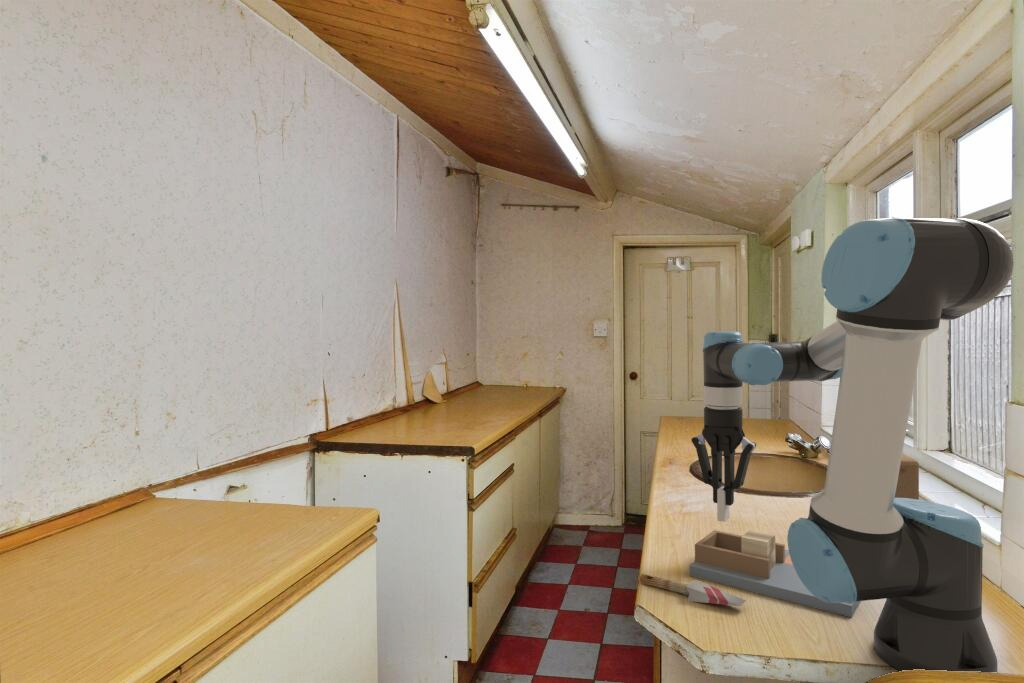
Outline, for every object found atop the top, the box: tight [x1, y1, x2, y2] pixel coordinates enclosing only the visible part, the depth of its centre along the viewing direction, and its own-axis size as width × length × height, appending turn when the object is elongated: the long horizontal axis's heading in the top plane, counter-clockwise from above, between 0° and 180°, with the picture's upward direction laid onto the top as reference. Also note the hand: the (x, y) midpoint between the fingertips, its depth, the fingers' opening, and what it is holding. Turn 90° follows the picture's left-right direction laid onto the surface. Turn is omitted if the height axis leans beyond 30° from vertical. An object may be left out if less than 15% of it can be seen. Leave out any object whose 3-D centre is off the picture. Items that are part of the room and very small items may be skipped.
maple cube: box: [741, 529, 776, 570], centre depth 121 cm, size 5×5×6 cm
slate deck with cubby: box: [689, 529, 861, 618], centre depth 120 cm, size 20×29×6 cm
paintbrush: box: [639, 573, 747, 607], centre depth 113 cm, size 4×3×20 cm
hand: (723, 519), depth 126 cm, fingers closed
